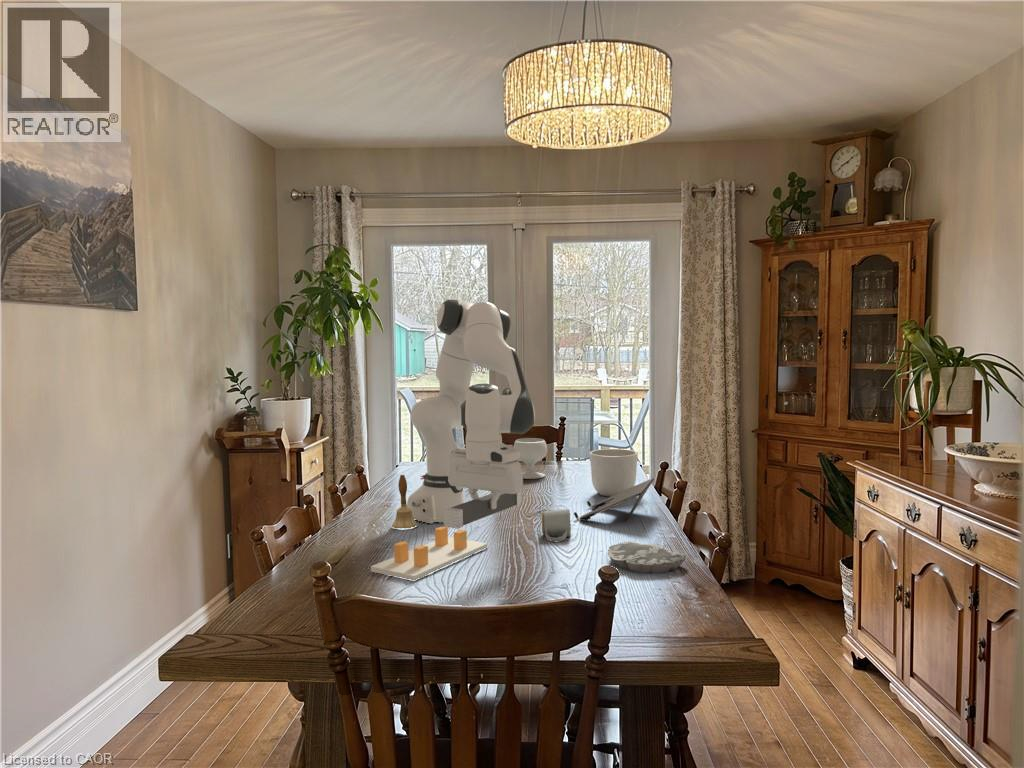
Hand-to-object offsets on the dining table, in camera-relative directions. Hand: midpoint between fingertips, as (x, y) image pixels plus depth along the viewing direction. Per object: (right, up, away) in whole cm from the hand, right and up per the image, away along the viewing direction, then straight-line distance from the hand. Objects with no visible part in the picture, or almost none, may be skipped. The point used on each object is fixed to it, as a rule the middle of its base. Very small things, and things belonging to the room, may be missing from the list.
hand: (484, 507), depth 174 cm
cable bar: (0, -2, 0) cm, 2 cm away
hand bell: (-26, -14, +43) cm, 52 cm away
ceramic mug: (+20, -14, +29) cm, 38 cm away
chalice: (+14, -8, +116) cm, 117 cm away
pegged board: (-14, -15, +10) cm, 23 cm away
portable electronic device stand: (+39, -12, +51) cm, 65 cm away
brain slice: (+39, -15, +4) cm, 42 cm away
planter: (+43, -10, +82) cm, 93 cm away
